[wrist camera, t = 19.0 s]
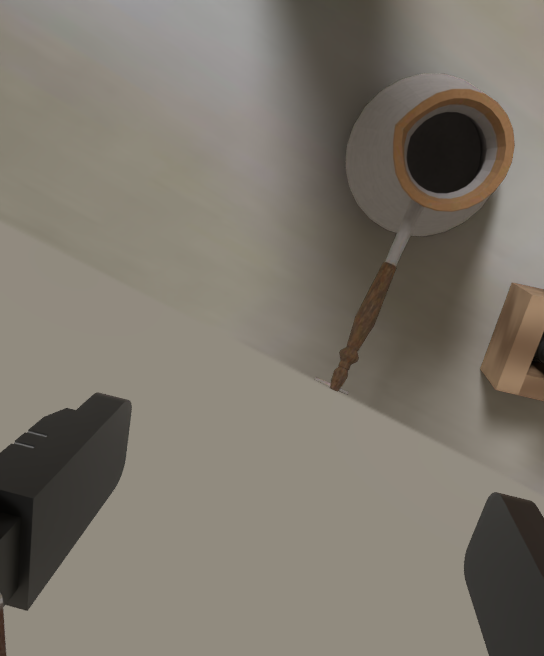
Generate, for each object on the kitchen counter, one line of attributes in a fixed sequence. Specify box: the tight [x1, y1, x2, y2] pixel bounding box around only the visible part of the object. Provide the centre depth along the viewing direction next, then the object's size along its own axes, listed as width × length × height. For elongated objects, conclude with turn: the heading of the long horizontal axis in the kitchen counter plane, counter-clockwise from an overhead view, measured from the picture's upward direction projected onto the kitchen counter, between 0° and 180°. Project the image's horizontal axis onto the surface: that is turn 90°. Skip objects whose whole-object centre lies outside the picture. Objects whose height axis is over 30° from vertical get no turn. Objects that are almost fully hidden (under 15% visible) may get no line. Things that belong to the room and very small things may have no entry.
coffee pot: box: [315, 73, 515, 395], centre depth 34 cm, size 21×12×15 cm, turn 156°
